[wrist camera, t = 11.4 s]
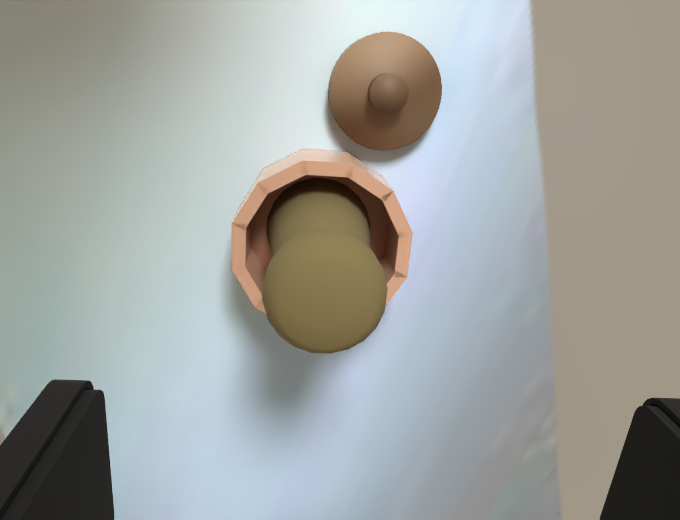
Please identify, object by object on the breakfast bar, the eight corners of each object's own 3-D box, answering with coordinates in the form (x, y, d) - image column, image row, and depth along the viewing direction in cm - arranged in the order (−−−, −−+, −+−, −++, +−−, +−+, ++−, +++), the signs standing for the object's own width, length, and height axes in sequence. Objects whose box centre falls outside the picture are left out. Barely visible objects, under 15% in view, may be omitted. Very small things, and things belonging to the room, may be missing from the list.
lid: (306, 80, 29) (307, 81, 27) (396, 8, 28) (404, 4, 26) (369, 168, 31) (375, 175, 29) (455, 103, 30) (468, 106, 28)
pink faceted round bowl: (241, 145, 30) (232, 156, 26) (406, 155, 30) (420, 167, 27) (239, 298, 33) (231, 328, 29) (389, 304, 34) (400, 334, 30)
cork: (382, 191, 30) (423, 253, 20) (355, 286, 32) (380, 388, 22) (278, 166, 30) (265, 218, 19) (256, 266, 32) (234, 362, 21)
